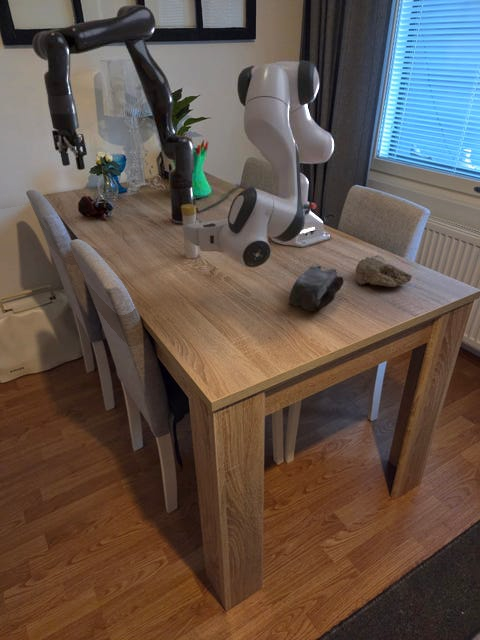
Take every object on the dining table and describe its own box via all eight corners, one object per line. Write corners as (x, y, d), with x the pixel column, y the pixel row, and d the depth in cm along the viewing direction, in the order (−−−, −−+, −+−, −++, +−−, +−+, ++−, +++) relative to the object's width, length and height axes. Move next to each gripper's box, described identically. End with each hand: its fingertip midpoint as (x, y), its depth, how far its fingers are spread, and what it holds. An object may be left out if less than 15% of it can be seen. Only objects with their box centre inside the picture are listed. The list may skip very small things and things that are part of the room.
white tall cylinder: (183, 257, 153) (180, 209, 144) (187, 252, 156) (184, 205, 147) (195, 259, 152) (192, 210, 143) (199, 254, 156) (196, 205, 147)
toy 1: (105, 189, 179) (76, 188, 184) (97, 209, 176) (68, 207, 182) (121, 206, 189) (93, 204, 195) (114, 225, 187) (85, 223, 192)
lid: (179, 214, 145) (179, 207, 143) (184, 210, 149) (183, 203, 147) (193, 215, 144) (193, 208, 143) (197, 211, 148) (197, 204, 147)
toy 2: (167, 190, 223) (163, 137, 210) (207, 188, 227) (205, 135, 214) (172, 202, 206) (167, 145, 193) (214, 199, 210) (213, 143, 197)
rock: (323, 321, 117) (326, 295, 113) (284, 311, 122) (285, 285, 118) (343, 292, 131) (347, 268, 127) (308, 284, 136) (310, 260, 132)
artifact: (373, 298, 130) (414, 291, 135) (379, 276, 125) (421, 270, 130) (340, 268, 143) (378, 263, 148) (345, 247, 139) (384, 242, 144)
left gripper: (87, 112, 131) (96, 168, 139) (61, 108, 138) (72, 162, 147) (64, 114, 126) (75, 173, 134) (39, 110, 134) (51, 166, 142)
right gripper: (267, 218, 118) (245, 206, 129) (194, 228, 111) (178, 214, 122) (266, 241, 121) (245, 228, 132) (195, 252, 114) (179, 236, 125)
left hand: (73, 167), depth 141 cm, fingers open, 8 cm apart
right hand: (212, 221), depth 127 cm, fingers open, 8 cm apart
